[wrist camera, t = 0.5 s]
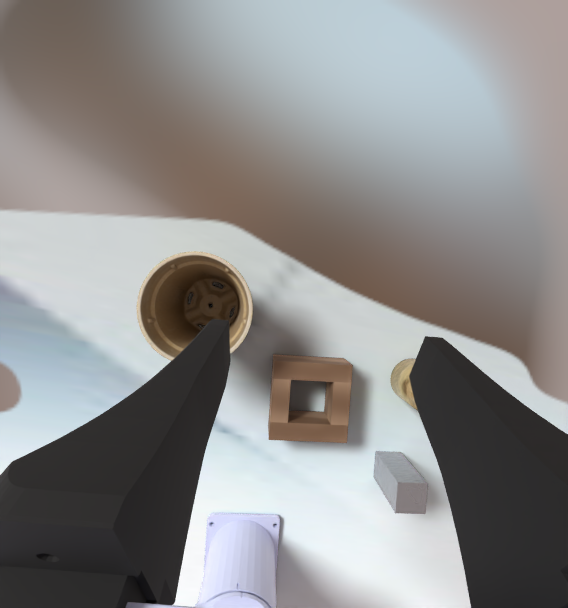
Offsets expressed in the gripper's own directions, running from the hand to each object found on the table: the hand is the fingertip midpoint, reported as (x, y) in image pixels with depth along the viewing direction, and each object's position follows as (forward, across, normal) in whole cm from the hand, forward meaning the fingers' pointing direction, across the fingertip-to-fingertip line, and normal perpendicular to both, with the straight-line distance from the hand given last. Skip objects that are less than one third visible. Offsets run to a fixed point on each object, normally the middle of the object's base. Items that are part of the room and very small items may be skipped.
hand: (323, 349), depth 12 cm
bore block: (+15, -2, +20) cm, 25 cm away
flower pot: (+20, +9, +12) cm, 25 cm away
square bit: (+12, -12, +27) cm, 31 cm away
